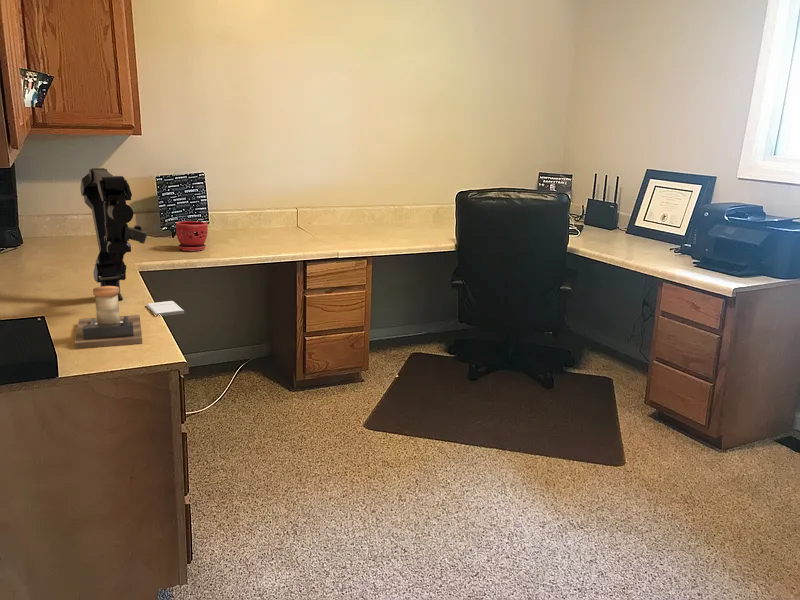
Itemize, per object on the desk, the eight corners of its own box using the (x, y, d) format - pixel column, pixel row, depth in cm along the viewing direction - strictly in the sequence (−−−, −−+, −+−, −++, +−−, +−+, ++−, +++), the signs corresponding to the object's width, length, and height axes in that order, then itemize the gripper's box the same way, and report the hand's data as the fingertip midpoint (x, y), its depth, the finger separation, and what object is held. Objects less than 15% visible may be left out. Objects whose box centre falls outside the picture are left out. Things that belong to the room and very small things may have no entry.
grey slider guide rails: (86, 321, 191) (85, 311, 191) (132, 318, 196) (131, 308, 195) (83, 339, 177) (82, 328, 176) (133, 336, 181) (132, 325, 180)
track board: (79, 323, 194) (79, 318, 194) (140, 319, 200) (139, 314, 199) (75, 348, 174) (74, 343, 174) (142, 343, 180) (142, 337, 180)
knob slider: (95, 326, 187) (92, 286, 184) (123, 324, 189) (120, 285, 186) (94, 334, 180) (91, 292, 177) (123, 332, 183) (120, 291, 180)
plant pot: (207, 252, 296) (206, 224, 293) (175, 252, 293) (174, 224, 290) (209, 246, 308) (208, 220, 305) (178, 246, 306) (177, 220, 302)
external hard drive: (156, 318, 204) (146, 308, 214) (184, 315, 208) (173, 305, 218) (156, 313, 203) (146, 303, 213) (184, 310, 207) (173, 300, 217)
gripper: (147, 222, 197) (151, 275, 201) (140, 214, 213) (144, 263, 217) (105, 224, 192) (110, 278, 196) (102, 215, 209) (106, 265, 213)
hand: (119, 271), depth 206 cm, fingers closed
